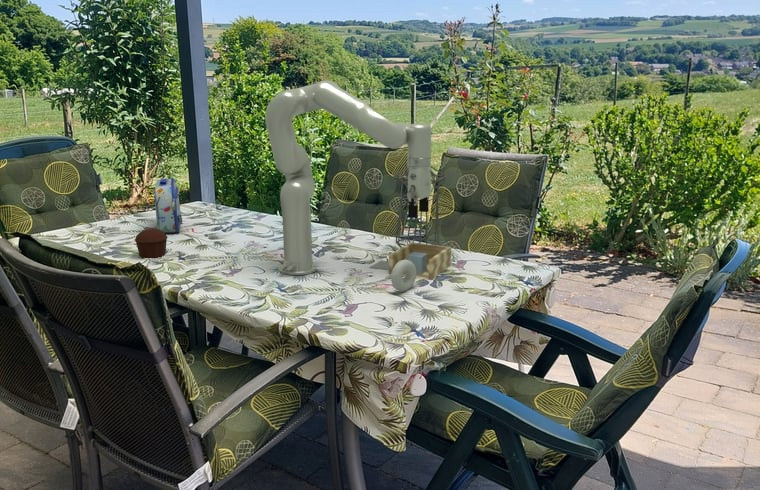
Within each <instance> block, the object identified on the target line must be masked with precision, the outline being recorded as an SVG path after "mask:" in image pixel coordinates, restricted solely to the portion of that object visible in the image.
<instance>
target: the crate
mask: <svg viewBox="0 0 760 490" xmlns="http://www.w3.org/2000/svg"><path fill="white" fill-rule="evenodd" d="M413 252H418V253H426V254H427V271H426V272H424V273H423V274H422V275H420V274H416V279H423V280H428V281H432V280H434V279H435V278H436V277H438V276H439V275H440V274H441V273H443V272H444V271H445V270H447V268H449V267H450V266H451V265H452V264H451V263H452V260H451V259H452V246H445V245H439V244H437V245H431V244H430V243H429V244H428V243H427V244H426V243H419V242H414V243H413V241H410V243H409V242H408V243H407V244H406V245H405V246H404V245H402V248H400V247H399V249H397V250H395V251H393V252H392V253H390V254H389V255H388V262H389V270H388V274H389V275H391V273H392V270H393V268H394V266H395V265H396V264H397V263H398V262H399V261H401V260H408V255H409V254H411V253H413ZM405 275H406V272H405V271H404V272H403V274H402V277H405Z"/></svg>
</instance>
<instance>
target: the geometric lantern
mask: <svg viewBox="0 0 760 490" xmlns="http://www.w3.org/2000/svg"><path fill="white" fill-rule="evenodd" d="M432 169H433V170H435V171H436V172H437V173H439V174H436V173H435V172H434V171H432ZM430 172H431V185H432V188H431V193H432V192H433V190H434V193H435V195H433V194H430V195H429V197H434V198H431V199H430V198H429V201H434V200H435V201H436V202H435V221H434V222H435V227H434V239H431V238H428V212H425V237H422V223H423V222H422V219H423V212H420V216H419V219H420V220H419V235H418V236H417V224H418V223H417V221H418V217H417V218H414V219H415V220H414V235H413V236H410V232H411V231H410V230H411V223H412V222H411V221H412V218H411V217H409V220H408V221H409V223H408V229H407V236H406V237H404V238H400V236H401V227H402V210H403V200H407V199H408V198H407V194H406V192H407V191H408V173H409V168H408V167H406V168H404V169H402V170H400V171H398V172H397V173H395V174H393V177H394V178H395V179H397V180H399V181H400V182H401V183H400V184H401V185H400V205H399V211H398V212H399V213H398V219H397V227H396V234H395V235H396V236H395V244H396V245H397V246H398V247H399V249H400V248H402V247H403V246H405V245H407V244H405V243H400V242H403V241H404V240H407V239H408V243H410V242H411V241H410V239H412V243H415V239H418V243H421V242H422V240H424V241H425V244H428V241H431V242H432V243H431V244H430V245H439V244H440V231H439V230H440V229H439V225H440V224H439V188H440V186H441V184H442V183H443V182H445V180H446V179H447V178H448V175H447V174H445V173H444V172H442V171H440V170H439V169H437V168H436V167H433V166H432V165H431V167H430ZM435 178H436V179H435ZM403 179H405V180H403ZM437 182H438V183H437ZM436 183H437V185H436ZM403 184H404V186H405V189H404V192H403ZM436 189H437V190H436ZM419 200H421V199H420V198H419V199H418V202H417V206H418V207H419ZM414 201H415V199H414ZM421 244H422V243H421Z"/></svg>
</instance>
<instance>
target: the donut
mask: <svg viewBox="0 0 760 490" xmlns="http://www.w3.org/2000/svg"><path fill="white" fill-rule="evenodd" d="M404 271H405V272H406V275H405V276H404V278H403V276H402V274H403V272H404ZM390 275H391V276H390V281H391V285H392V287H393V288H394V289H395V290H396V291H398V292H406V291H408V290H410V289H411V288H412V286H413V285H414V283H415V282H416V279H417V278H416V268H415V265H414V264H413V263H412V262H411V261H409V260H401V261H399V262H398V263H397V264H396V265H395V266H394V268H393V270H392V273H391V274H390Z"/></svg>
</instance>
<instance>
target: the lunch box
mask: <svg viewBox="0 0 760 490" xmlns="http://www.w3.org/2000/svg"><path fill="white" fill-rule="evenodd" d="M154 208H155V219H156V228H157V229H160V230H162V231H163V232H164V233H165V234H174V233H175V232H176V233H179V232H180V229H181V226H182V225H183V217H182V214H181V213H182V212H181V205H180V198H179V188H178V186H177V183H176V179H175V178H160V179H157V180H156V183H155V187H154Z"/></svg>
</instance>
